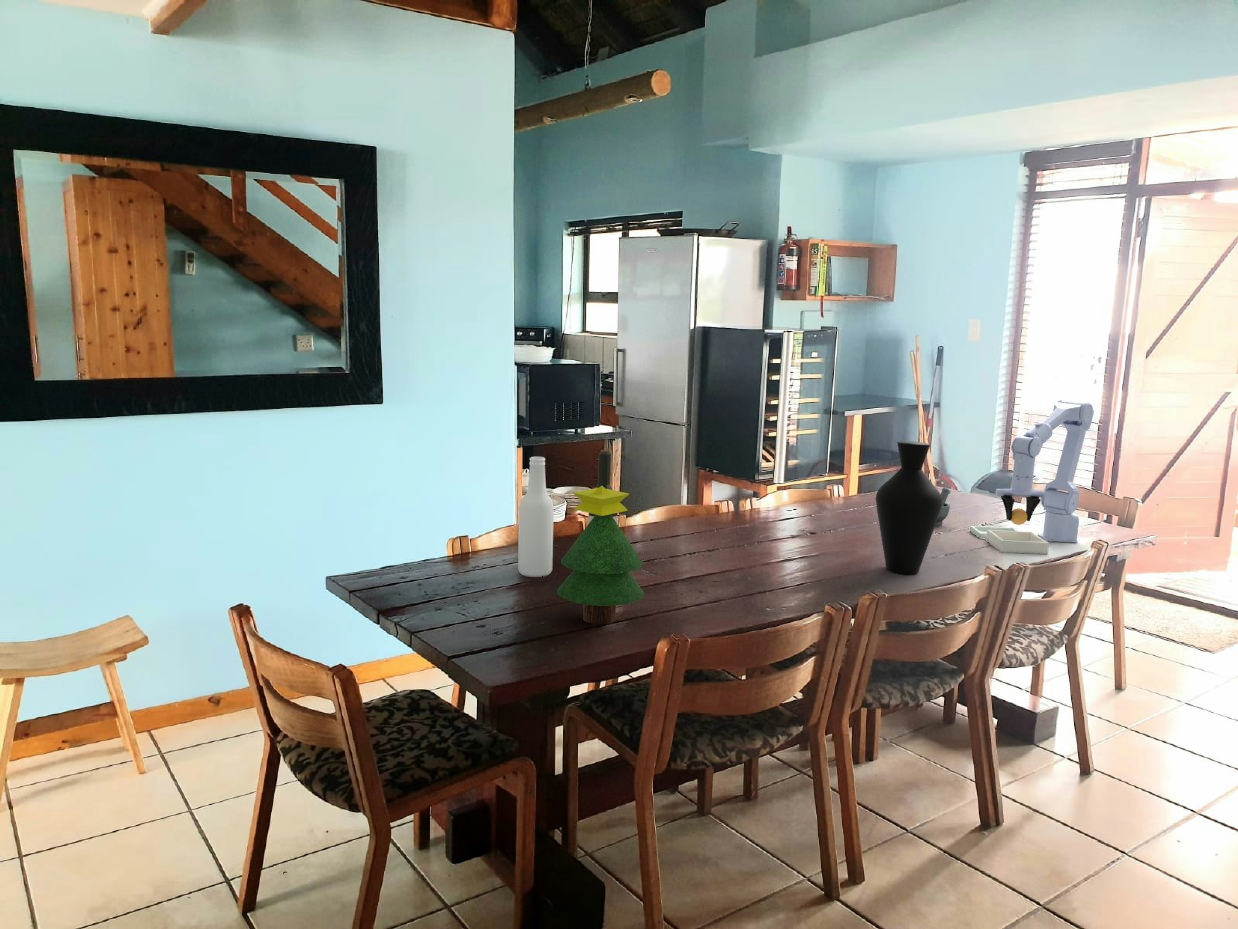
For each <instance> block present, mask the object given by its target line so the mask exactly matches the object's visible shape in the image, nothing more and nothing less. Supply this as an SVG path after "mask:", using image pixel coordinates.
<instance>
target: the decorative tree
mask: <svg viewBox="0 0 1238 929" xmlns="http://www.w3.org/2000/svg"><path fill="white" fill-rule="evenodd" d="M572 494H573V495H575V497H576V498H578V499H579V500H580V501H581V502H580V503H579V504H578V505H577V506H575V507H574V508H573V510H576V511H580V512H584V513H592V514H596V515H595V516H594V518H593V519H592V520H591V522H590V523H589V524H588V523H587V526H586V527H585V528H584V529H583V531H581V534H579V536H578V537H577V538H576V540H575V541H574V543H573V544H572V545H571V546H570V548H569V549H568V550H567V552H566V553H565V554H564V555H563V556H562V558H561V559H560V563H561V564H562V565H563V567H566V568H567V569H570V570H572V571H571V573H569V575H568V576H567V578H565V580H564V581H563V582H562V583H561V584H560V585H559V587H558V588H557V590H556V593H557V595H558V596H559V597H560V598H562V599H564V600H565V601H568V602H572V603H574V604H575V603H576V604H580V605H582V607H583V608H582V609H583V610H582V620H583V621H584V622H586V623H588V624H591V625H592V624H593V625H607V624H612V623H614V622H615V621H616V615H617V614H616V613H617V612H616V611H617V608H616V607H617V606H622V605H627V604H628V605H629V604H632V603H635V602H637V601H640V600H641V599H643V597H644V594H645V593H644V590H643V589H642V588H641V587H640V585H639V583H638V582H637V581H636V580H635V579H634V577H633V576H632V574H631V572H633V571H637V570H639V569H640V568H642V567H643V565H644V563H643V561H642V559H641V557H640V555H639V554H638V553H637V551H636V550H635V548H634V547H633V545H632V544H631V542H630V541H629V540H628V538H627V536H626V535H625V533H624V532H623V530H622V529H621V528H620V526H619V524H618V522H617V523H616V521H615V520H614V518H613V517H612V515H611V514H614V513H618V514H619V513H622V512H623V513H624V512H626V511H629V510H628V508H626V506H624V505H623V503H621V502H622V501H623V500H624V499H626V498H627V497H628V496H629V495H630V493H628V492H623V491H618V490H613V489H612V490H610V489H605V488H604V487H603V486H601V487H599V488H595V487H594V488H589V489H585V490H579V491H573V492H572Z"/></svg>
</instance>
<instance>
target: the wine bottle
mask: <svg viewBox="0 0 1238 929" xmlns="http://www.w3.org/2000/svg"><path fill="white" fill-rule="evenodd" d="M611 461H612V453H610V450H609V449H601V450H600V452H599V453H598V466H597V467H598V469H597V474H598V475H597V484H596V485H595V487H594V488H599V487H601V486H603V487H604V488H605V489H610V490H613V488H612V486H611V465H612V464H611V463H612V462H611ZM587 513H588V512H587ZM595 515H596V514H592V513H588V518H587V525H588V524H589V523H590V522H591V520H592V519H593V518H594V516H595ZM611 515H612V517H613V518H614V520H615V521H616V523H617V524H618V519H619V518H618V516H619V512H618V513H614V514H611Z"/></svg>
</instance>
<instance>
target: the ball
mask: <svg viewBox="0 0 1238 929" xmlns="http://www.w3.org/2000/svg"><path fill="white" fill-rule="evenodd" d="M1010 521H1011V522H1012V523H1013V524H1014V525H1018V526H1021V525H1024V524H1025V523H1026V522H1027V513H1026V510H1024V509H1023V508H1020V507H1017V508H1013V509H1012V518H1011V520H1010Z"/></svg>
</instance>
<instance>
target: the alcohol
mask: <svg viewBox="0 0 1238 929" xmlns="http://www.w3.org/2000/svg"><path fill="white" fill-rule="evenodd" d="M545 465H546V458H545V457H544V456H531V457H529V472H528V482H527V490H526V493H525V494H524V495H523V496H522V498H521V499H520V500H519V504H518V505H519V506H518V538H517V539H518V542H517V543H518V551H517V553H518V554H517V570H518V572H519V574H521V575H522V576H523V577H529V578H540V577H541V578H542V576H543V577H547V576H548V575H550V574H551V573H552V571H553V554H554V553H553V550H554V547H553V546H554V544H553V543H554V512H555V509H554V507H555V506H554V503H553V500H552V498H551V496H549V494H548V492H547V484H546V482H547V481H546V466H545Z"/></svg>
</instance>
